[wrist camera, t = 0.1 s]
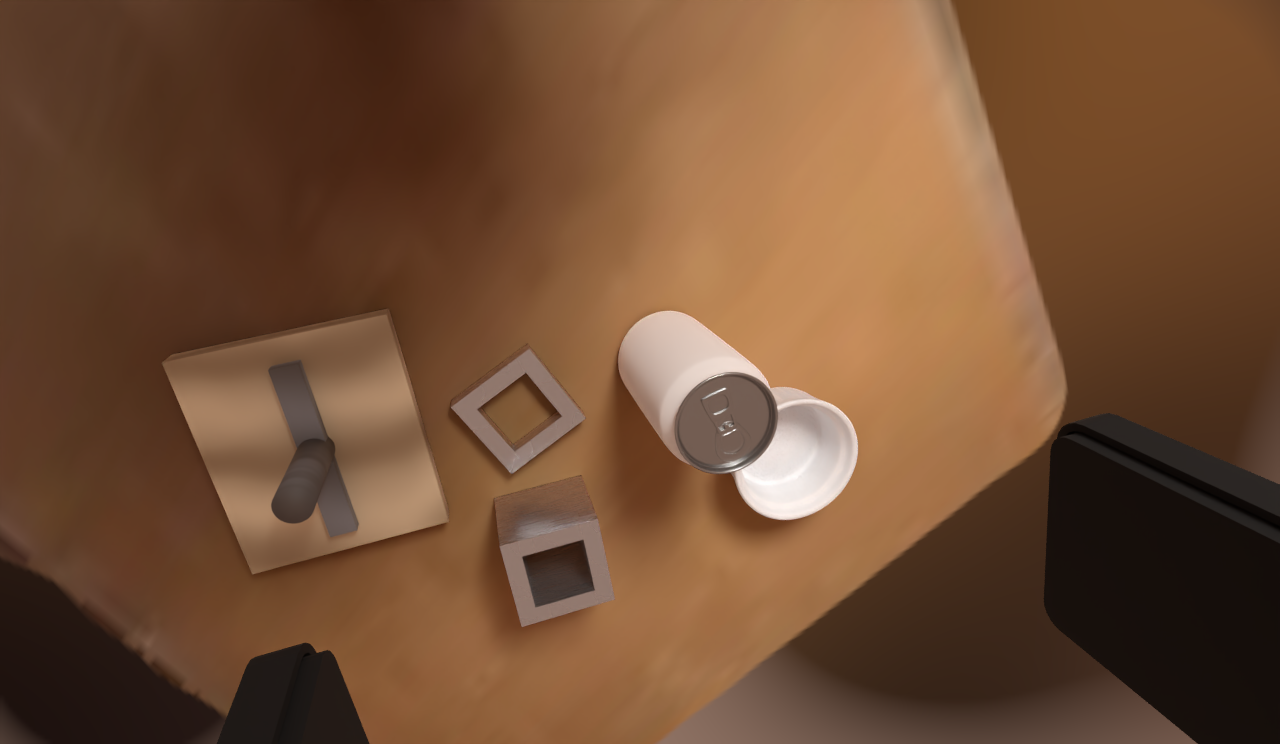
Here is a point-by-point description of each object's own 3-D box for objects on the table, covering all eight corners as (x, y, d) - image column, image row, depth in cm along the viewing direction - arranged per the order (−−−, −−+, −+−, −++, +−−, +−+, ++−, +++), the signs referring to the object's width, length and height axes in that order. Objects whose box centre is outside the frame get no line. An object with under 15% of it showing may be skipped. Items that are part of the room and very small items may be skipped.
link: (493, 498, 48) (499, 546, 42) (581, 475, 49) (597, 519, 43) (513, 572, 50) (521, 627, 44) (597, 548, 51) (614, 599, 45)
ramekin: (749, 513, 53) (773, 544, 49) (691, 426, 50) (712, 452, 46) (846, 445, 54) (878, 470, 50) (795, 354, 50) (824, 373, 46)
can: (637, 417, 49) (692, 502, 38) (600, 334, 46) (647, 399, 35) (722, 376, 49) (800, 448, 38) (690, 292, 47) (764, 343, 36)
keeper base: (171, 354, 40) (104, 408, 32) (388, 308, 42) (374, 348, 35) (258, 560, 45) (217, 650, 37) (448, 510, 47) (448, 585, 39)
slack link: (451, 400, 45) (451, 407, 44) (527, 343, 45) (529, 348, 44) (510, 466, 47) (511, 474, 46) (582, 411, 47) (585, 418, 46)
